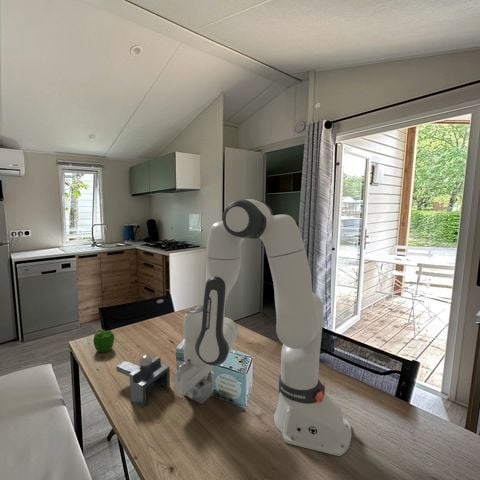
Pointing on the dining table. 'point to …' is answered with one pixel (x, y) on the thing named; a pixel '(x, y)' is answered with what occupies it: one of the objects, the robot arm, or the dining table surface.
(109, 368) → the dining table surface
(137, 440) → the dining table surface
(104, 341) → the bell pepper
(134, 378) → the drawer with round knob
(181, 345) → the light bulb box
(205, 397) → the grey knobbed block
